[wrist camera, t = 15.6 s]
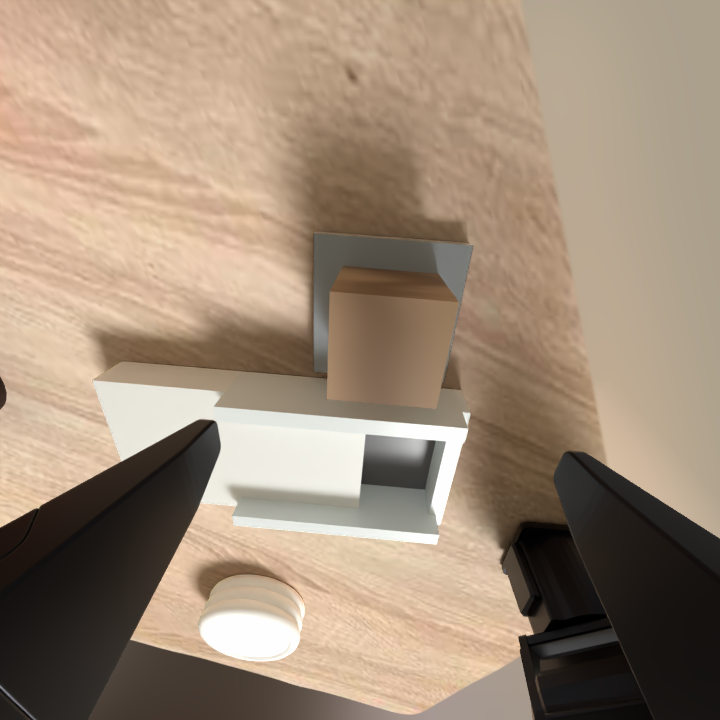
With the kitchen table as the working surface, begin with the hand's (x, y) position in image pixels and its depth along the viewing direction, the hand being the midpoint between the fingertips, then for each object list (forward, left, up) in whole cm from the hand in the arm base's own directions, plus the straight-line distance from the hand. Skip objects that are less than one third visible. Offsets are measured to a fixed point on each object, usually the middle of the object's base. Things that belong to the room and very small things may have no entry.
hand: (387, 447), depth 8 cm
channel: (+5, +10, -12) cm, 16 cm away
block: (0, 0, -11) cm, 11 cm away
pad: (0, 0, -12) cm, 12 cm away
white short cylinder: (+10, +33, -12) cm, 37 cm away
